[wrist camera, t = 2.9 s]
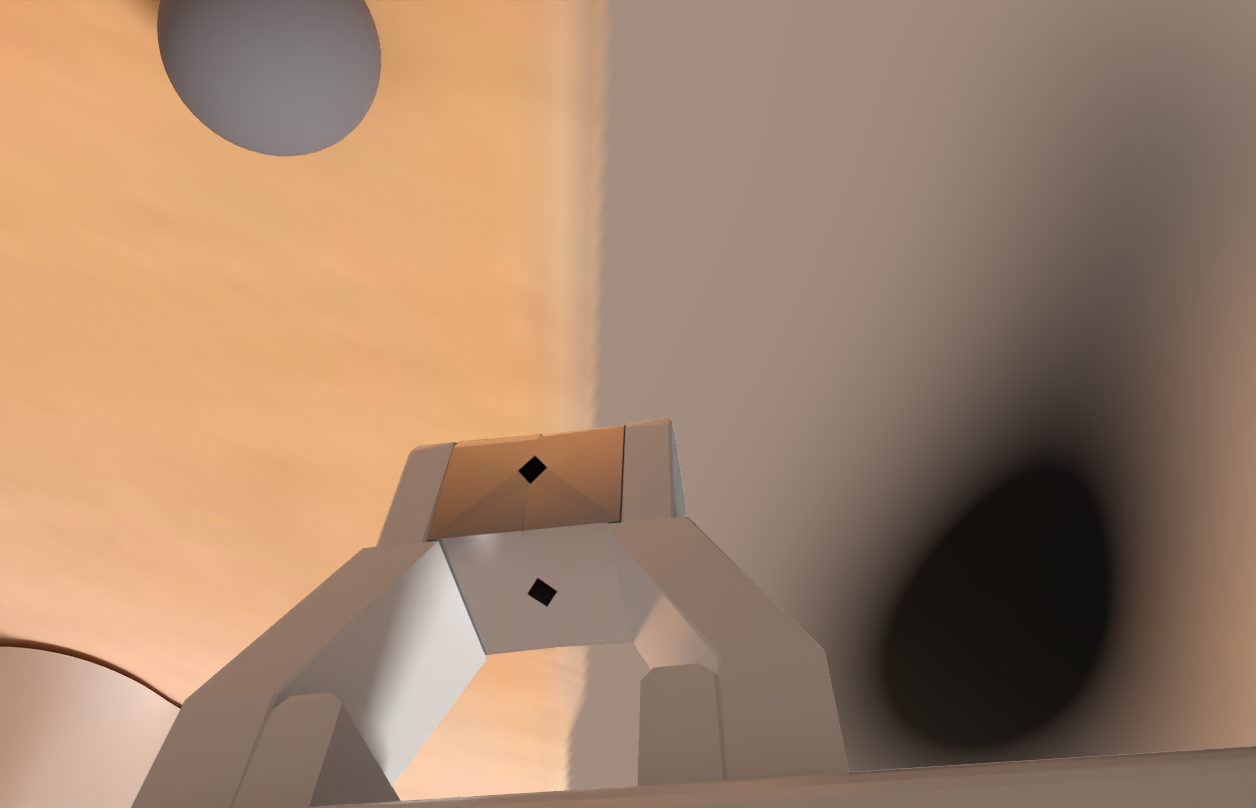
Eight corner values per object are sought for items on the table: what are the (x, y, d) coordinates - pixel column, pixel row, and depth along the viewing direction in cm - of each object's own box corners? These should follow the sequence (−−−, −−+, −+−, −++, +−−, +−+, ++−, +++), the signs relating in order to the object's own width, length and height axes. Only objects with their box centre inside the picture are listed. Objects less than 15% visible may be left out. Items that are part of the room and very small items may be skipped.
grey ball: (408, 126, 27) (360, 195, 22) (232, 111, 26) (148, 178, 22) (393, -72, 23) (333, -37, 19) (191, -91, 23) (83, -60, 19)
